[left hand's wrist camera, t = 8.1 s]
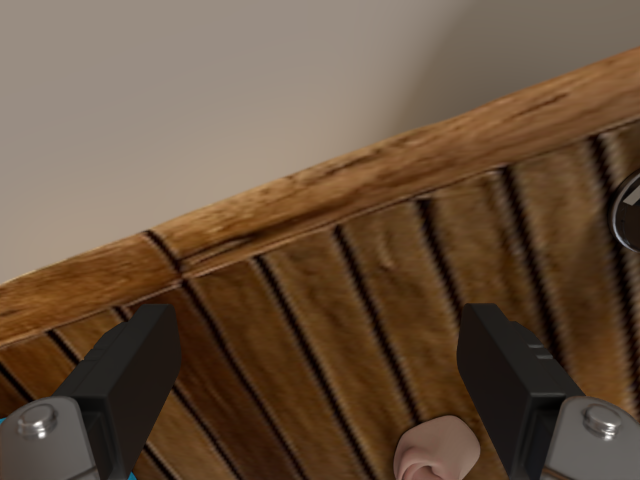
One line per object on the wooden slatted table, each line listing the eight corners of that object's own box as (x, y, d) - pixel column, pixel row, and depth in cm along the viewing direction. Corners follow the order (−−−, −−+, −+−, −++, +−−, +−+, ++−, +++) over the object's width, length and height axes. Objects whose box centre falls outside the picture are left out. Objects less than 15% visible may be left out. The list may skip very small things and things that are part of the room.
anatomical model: (445, 429, 46) (517, 474, 48) (436, 403, 49) (503, 446, 52) (369, 496, 50) (439, 534, 52) (366, 467, 53) (431, 504, 56)
